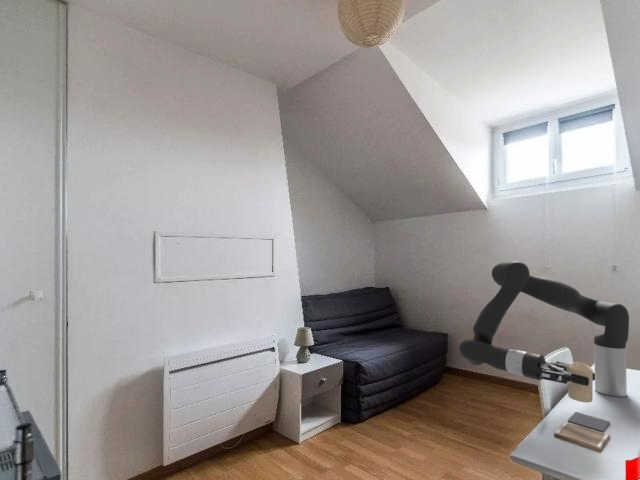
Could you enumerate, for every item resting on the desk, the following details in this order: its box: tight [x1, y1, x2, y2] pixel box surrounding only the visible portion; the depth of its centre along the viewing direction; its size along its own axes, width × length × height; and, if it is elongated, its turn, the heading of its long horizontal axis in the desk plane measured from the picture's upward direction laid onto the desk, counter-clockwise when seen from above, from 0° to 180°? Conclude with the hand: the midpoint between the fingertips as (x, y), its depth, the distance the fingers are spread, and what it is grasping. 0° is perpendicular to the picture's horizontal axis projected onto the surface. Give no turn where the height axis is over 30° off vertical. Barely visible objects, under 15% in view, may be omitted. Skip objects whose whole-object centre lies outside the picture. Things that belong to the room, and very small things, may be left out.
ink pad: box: [567, 411, 611, 433], centre depth 109 cm, size 9×9×1 cm
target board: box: [553, 421, 611, 453], centre depth 100 cm, size 11×10×1 cm
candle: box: [567, 361, 594, 403], centre depth 101 cm, size 6×6×10 cm
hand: (591, 379), depth 99 cm, fingers closed on candle, 5 cm apart
